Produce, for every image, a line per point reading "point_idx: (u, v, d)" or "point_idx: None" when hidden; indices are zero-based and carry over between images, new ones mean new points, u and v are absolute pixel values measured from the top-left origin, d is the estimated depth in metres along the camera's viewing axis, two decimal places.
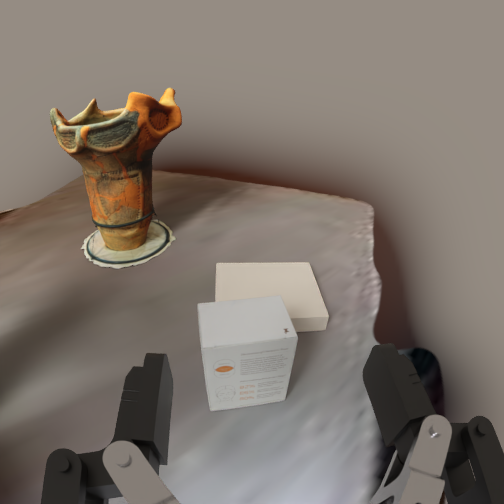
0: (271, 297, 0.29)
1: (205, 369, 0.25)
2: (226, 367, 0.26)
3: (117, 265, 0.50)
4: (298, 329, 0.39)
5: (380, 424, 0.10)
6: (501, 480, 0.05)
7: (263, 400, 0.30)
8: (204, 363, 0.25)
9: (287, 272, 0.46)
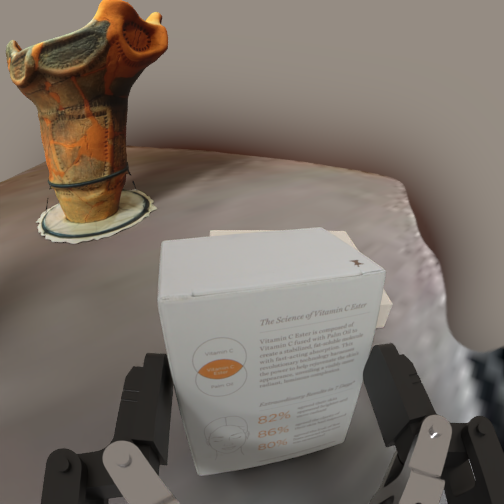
0: (306, 229, 0.15)
1: (173, 370, 0.10)
2: (225, 365, 0.10)
3: (74, 240, 0.34)
4: None
5: (380, 424, 0.10)
6: (502, 480, 0.05)
7: (305, 447, 0.13)
8: (169, 351, 0.10)
9: None
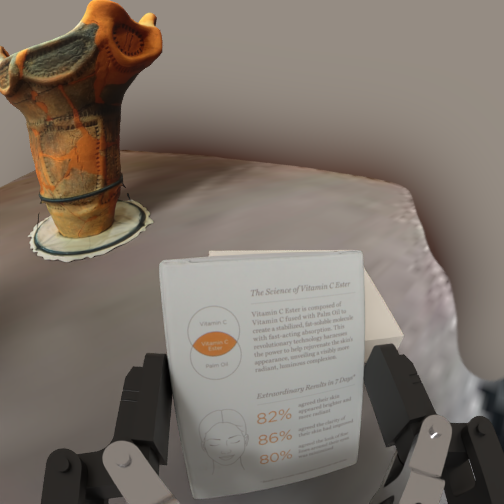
0: None
1: (168, 342, 0.10)
2: (219, 339, 0.11)
3: (67, 257, 0.32)
4: None
5: (380, 424, 0.10)
6: (501, 480, 0.05)
7: (313, 464, 0.12)
8: (165, 319, 0.10)
9: None
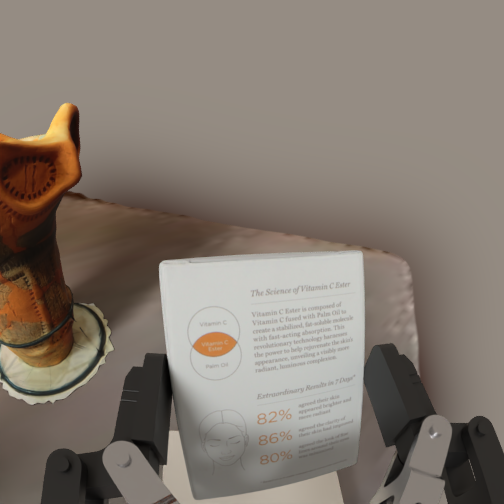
0: None
1: (168, 342, 0.10)
2: (219, 339, 0.11)
3: (30, 398, 0.26)
4: None
5: (380, 424, 0.10)
6: (502, 480, 0.05)
7: (313, 465, 0.12)
8: (165, 319, 0.10)
9: None
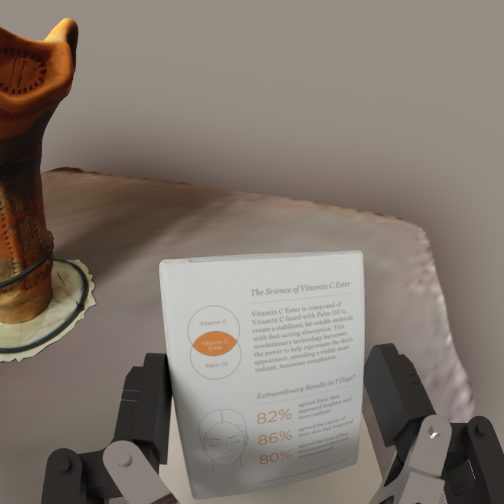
0: None
1: (168, 341, 0.10)
2: (219, 338, 0.11)
3: None
4: None
5: (380, 424, 0.10)
6: (501, 480, 0.05)
7: (313, 465, 0.12)
8: (165, 318, 0.10)
9: None
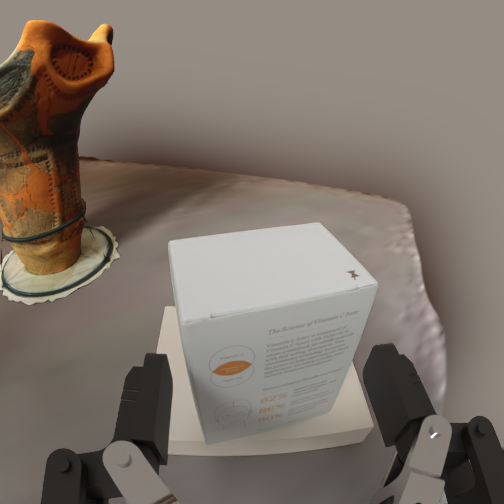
0: (305, 225, 0.16)
1: (192, 372, 0.12)
2: (236, 364, 0.12)
3: (29, 299, 0.28)
4: (312, 448, 0.17)
5: (380, 424, 0.10)
6: (501, 480, 0.05)
7: (297, 417, 0.16)
8: (189, 359, 0.11)
9: None
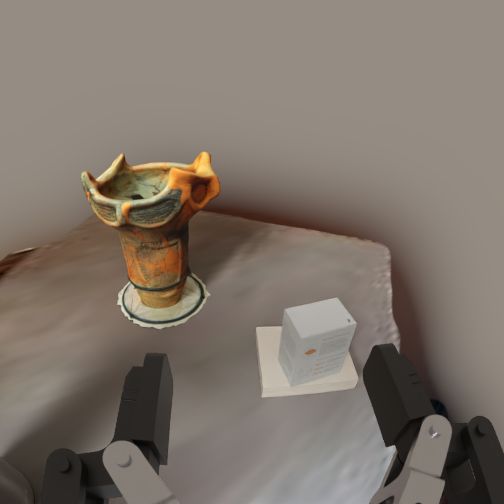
0: (331, 299, 0.41)
1: (298, 353, 0.37)
2: (312, 350, 0.37)
3: (158, 325, 0.53)
4: (332, 389, 0.43)
5: (380, 424, 0.10)
6: (502, 480, 0.05)
7: (326, 373, 0.42)
8: (299, 349, 0.36)
9: None
